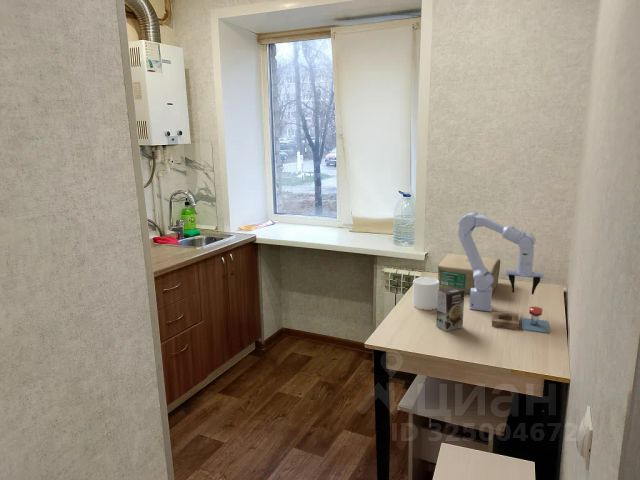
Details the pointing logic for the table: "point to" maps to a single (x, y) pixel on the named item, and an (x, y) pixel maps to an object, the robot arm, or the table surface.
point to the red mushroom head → (535, 315)
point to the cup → (425, 293)
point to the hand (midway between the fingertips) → (522, 292)
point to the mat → (540, 328)
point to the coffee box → (450, 308)
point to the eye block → (505, 320)
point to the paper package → (463, 272)
